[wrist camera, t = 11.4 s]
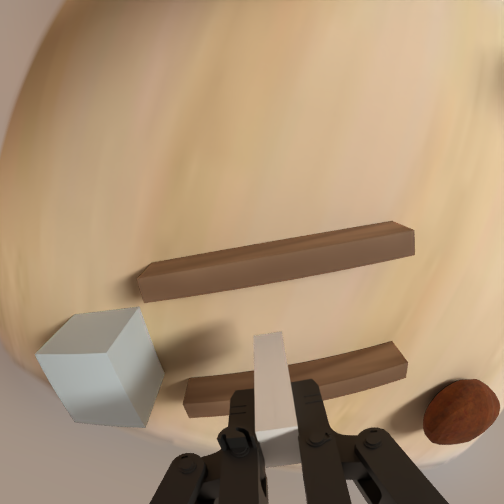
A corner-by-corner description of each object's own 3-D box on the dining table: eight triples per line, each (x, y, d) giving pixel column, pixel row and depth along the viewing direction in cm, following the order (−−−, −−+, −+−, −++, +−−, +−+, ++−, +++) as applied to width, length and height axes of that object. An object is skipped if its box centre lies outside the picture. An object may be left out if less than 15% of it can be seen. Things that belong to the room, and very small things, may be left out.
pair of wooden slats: (151, 262, 19) (136, 278, 16) (391, 221, 18) (414, 230, 15) (194, 391, 22) (189, 417, 19) (390, 356, 21) (405, 377, 18)
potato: (456, 416, 25) (480, 451, 18) (401, 420, 24) (424, 465, 18) (488, 369, 23) (518, 402, 17) (436, 367, 22) (470, 410, 16)
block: (74, 313, 20) (34, 354, 14) (139, 305, 20) (106, 352, 14) (102, 375, 21) (74, 422, 16) (164, 373, 21) (145, 427, 16)
